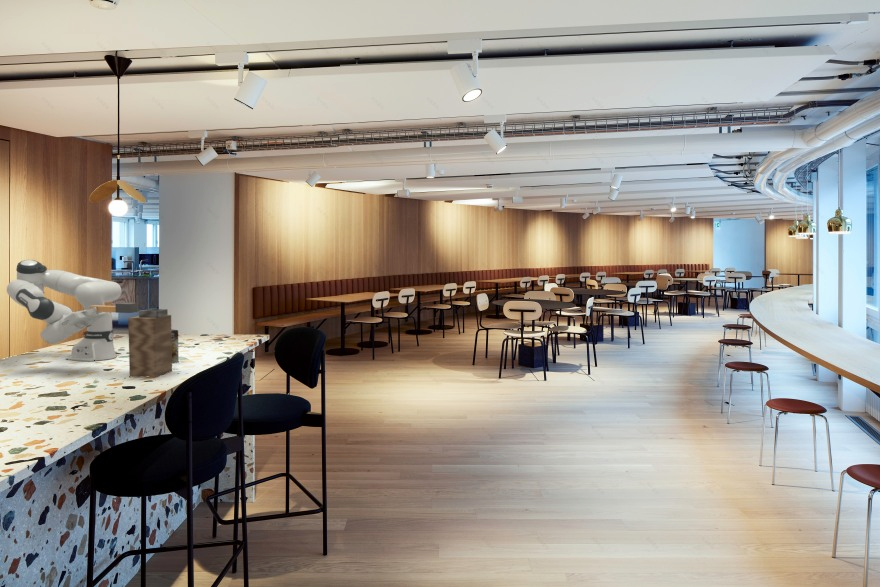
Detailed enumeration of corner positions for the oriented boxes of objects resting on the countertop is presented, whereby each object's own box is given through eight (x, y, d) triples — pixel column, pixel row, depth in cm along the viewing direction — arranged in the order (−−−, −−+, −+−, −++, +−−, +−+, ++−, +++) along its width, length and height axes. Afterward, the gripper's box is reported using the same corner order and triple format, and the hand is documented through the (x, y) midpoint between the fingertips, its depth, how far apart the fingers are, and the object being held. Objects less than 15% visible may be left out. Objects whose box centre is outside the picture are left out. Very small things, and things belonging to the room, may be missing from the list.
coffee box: (161, 364, 291) (160, 331, 290) (154, 363, 295) (154, 330, 293) (179, 362, 298) (178, 330, 297) (172, 360, 302) (171, 328, 301)
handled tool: (88, 311, 268) (88, 302, 268) (95, 310, 273) (95, 301, 273) (130, 313, 267) (130, 304, 267) (137, 311, 272) (136, 303, 272)
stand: (129, 376, 265) (128, 311, 262) (147, 370, 278) (145, 307, 276) (155, 377, 264) (154, 311, 262) (172, 370, 278) (171, 308, 275)
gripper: (55, 318, 261) (81, 303, 260) (86, 313, 281) (110, 299, 280) (62, 331, 261) (88, 316, 260) (92, 325, 282) (117, 311, 280)
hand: (100, 307), depth 270 cm, fingers closed on handled tool, 3 cm apart
